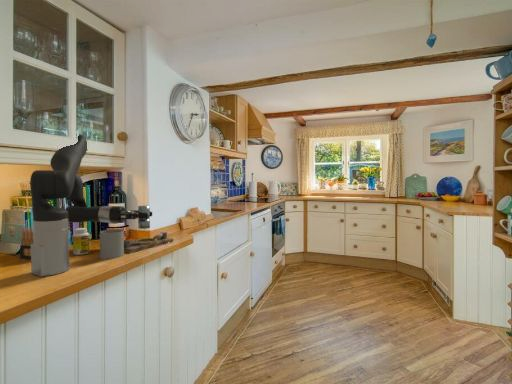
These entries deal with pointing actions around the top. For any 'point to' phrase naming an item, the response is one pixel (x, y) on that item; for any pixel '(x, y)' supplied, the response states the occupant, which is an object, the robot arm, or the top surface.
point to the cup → (111, 243)
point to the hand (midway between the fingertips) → (149, 214)
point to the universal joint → (144, 222)
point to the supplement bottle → (80, 241)
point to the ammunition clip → (26, 243)
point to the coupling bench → (146, 243)
